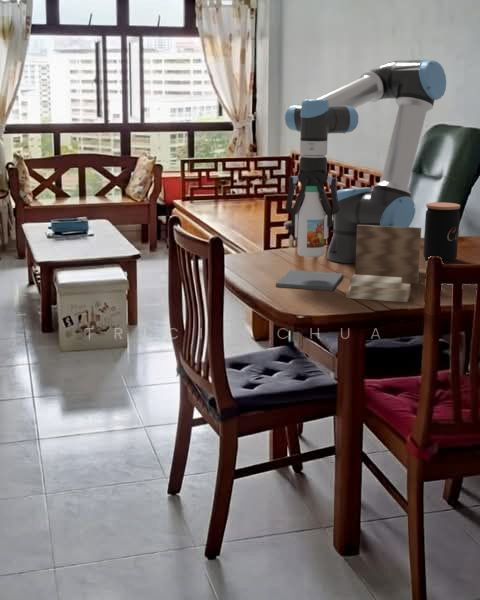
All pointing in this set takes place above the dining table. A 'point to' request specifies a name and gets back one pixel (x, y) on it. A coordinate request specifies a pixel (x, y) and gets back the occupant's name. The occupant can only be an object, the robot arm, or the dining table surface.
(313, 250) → the milk bottle
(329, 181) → the robot arm
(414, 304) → the dining table surface
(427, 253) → the coffee jar
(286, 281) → the charcoal mat
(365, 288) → the offcut rack
